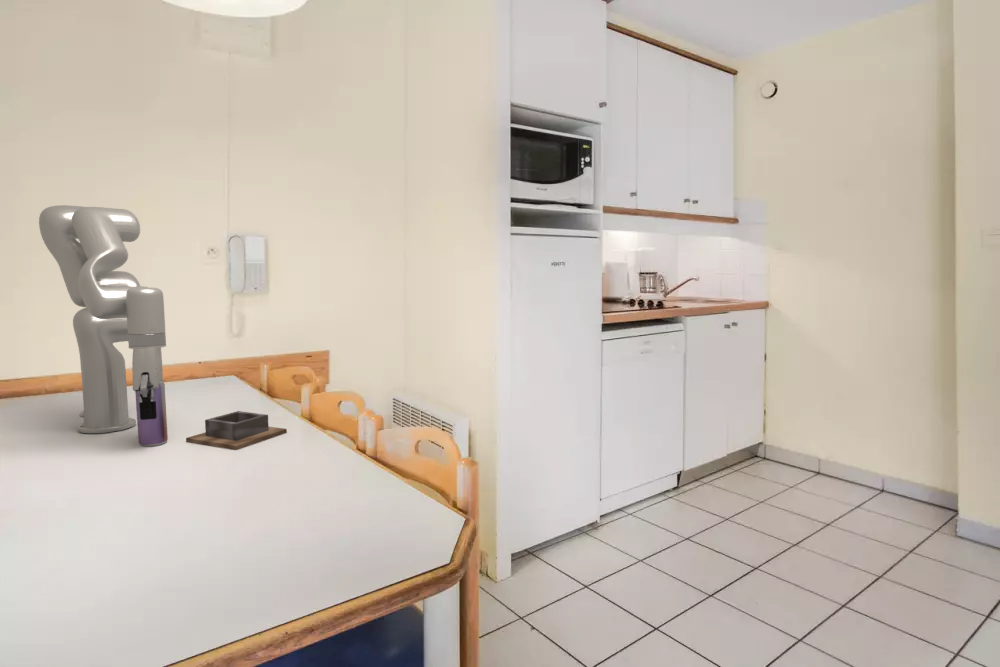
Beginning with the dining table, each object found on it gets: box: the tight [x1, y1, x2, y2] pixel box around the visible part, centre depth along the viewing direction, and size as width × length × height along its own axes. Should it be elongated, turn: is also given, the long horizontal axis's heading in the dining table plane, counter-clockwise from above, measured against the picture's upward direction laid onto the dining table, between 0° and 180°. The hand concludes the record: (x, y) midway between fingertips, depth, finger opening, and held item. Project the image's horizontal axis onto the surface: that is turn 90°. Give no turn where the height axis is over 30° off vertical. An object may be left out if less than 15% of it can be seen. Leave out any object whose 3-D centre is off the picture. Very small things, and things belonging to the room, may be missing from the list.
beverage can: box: [134, 379, 169, 448], centre depth 139 cm, size 6×6×15 cm
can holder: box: [185, 410, 288, 451], centre depth 145 cm, size 16×16×5 cm
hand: (151, 414), depth 139 cm, fingers open, 7 cm apart
